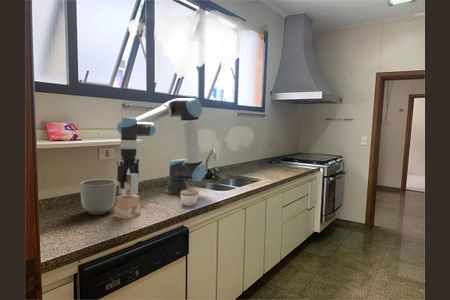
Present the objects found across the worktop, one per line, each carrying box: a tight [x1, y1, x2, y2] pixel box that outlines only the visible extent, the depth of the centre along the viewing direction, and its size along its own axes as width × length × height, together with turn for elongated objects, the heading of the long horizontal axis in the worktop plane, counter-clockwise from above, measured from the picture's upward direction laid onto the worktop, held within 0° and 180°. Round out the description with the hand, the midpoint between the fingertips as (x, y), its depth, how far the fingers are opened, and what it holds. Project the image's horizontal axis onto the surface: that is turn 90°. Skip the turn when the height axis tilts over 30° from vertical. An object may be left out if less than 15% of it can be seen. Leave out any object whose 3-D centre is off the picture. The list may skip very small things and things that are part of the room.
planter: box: [79, 178, 117, 216], centre depth 147 cm, size 17×17×16 cm
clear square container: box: [113, 204, 142, 220], centre depth 145 cm, size 9×9×5 cm
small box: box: [117, 172, 139, 196], centre depth 144 cm, size 8×6×10 cm
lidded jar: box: [180, 188, 199, 207], centre depth 169 cm, size 11×11×9 cm
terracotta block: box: [115, 194, 140, 209], centre depth 145 cm, size 8×8×5 cm
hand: (128, 193), depth 144 cm, fingers closed on small box, 6 cm apart
